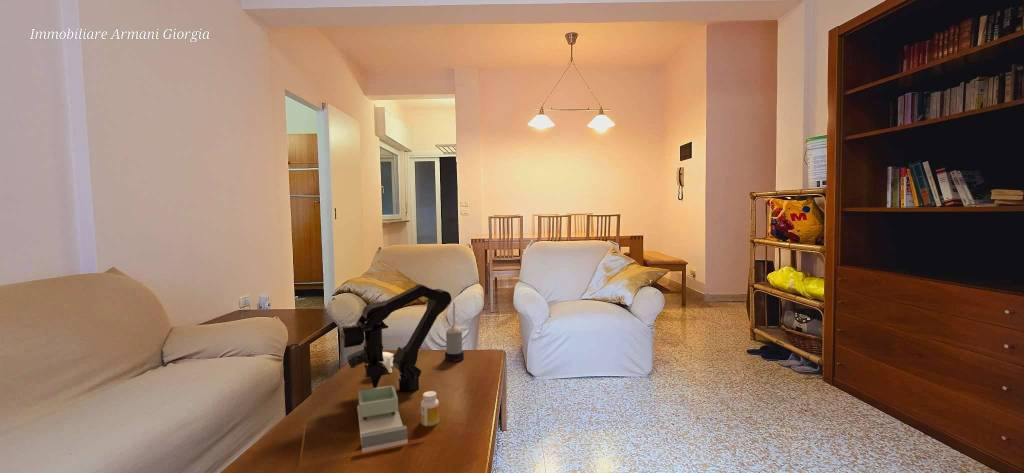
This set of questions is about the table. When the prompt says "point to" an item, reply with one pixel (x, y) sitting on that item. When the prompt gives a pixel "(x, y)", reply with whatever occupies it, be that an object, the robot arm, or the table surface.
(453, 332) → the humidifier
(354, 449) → the table surface
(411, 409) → the table surface
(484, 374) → the table surface
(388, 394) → the sage green storage bin
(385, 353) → the white animal figurine
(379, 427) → the board
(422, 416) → the supplement bottle
